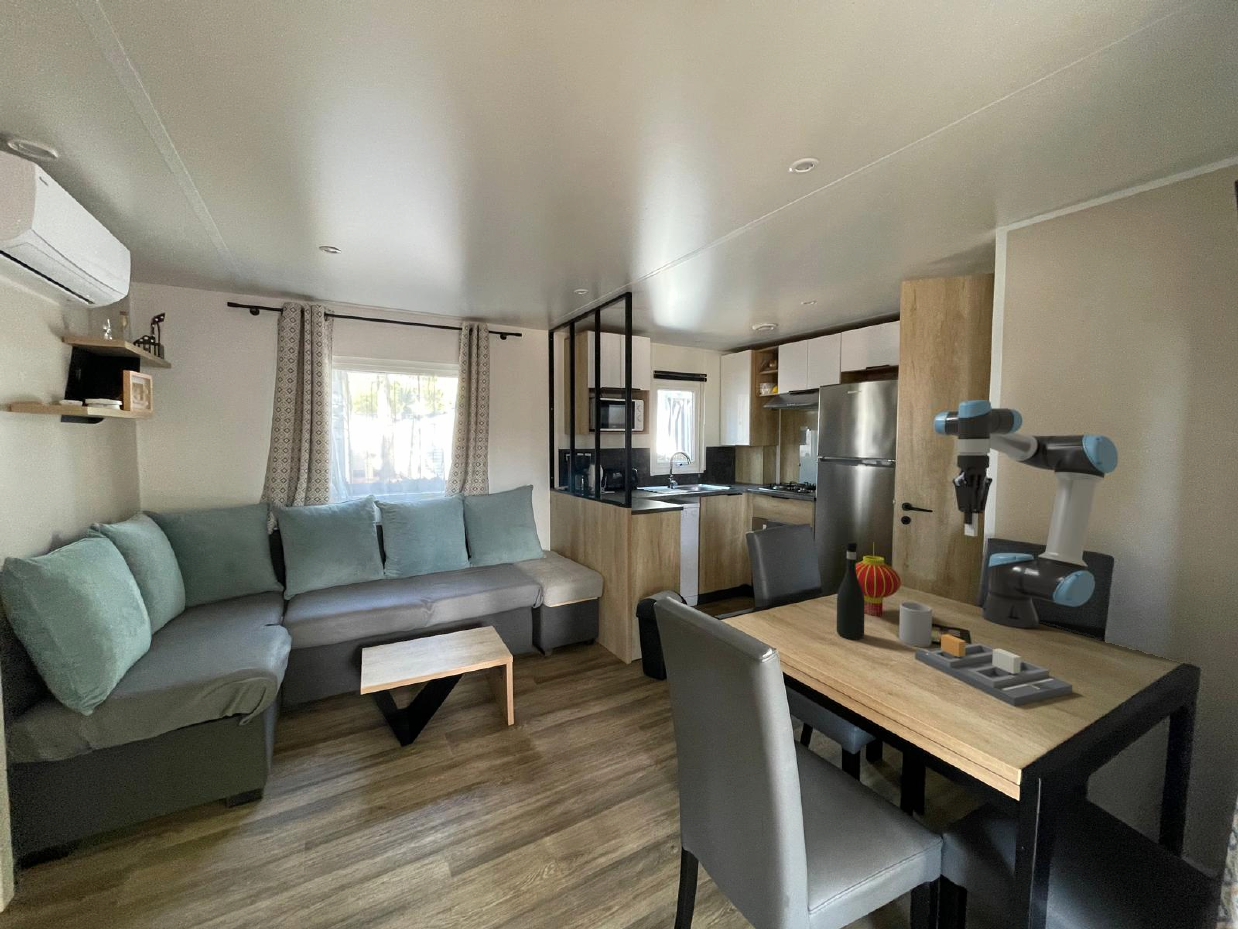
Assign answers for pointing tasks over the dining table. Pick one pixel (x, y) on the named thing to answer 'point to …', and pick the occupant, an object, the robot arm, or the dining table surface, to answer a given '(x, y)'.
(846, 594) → the wine bottle
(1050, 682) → the grey flat slotted tray
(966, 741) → the dining table surface
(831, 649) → the dining table surface
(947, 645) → the block
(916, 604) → the mug
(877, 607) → the lantern
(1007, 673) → the fader
